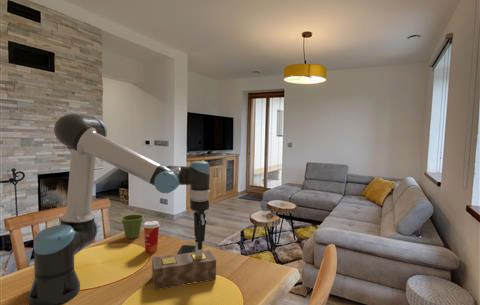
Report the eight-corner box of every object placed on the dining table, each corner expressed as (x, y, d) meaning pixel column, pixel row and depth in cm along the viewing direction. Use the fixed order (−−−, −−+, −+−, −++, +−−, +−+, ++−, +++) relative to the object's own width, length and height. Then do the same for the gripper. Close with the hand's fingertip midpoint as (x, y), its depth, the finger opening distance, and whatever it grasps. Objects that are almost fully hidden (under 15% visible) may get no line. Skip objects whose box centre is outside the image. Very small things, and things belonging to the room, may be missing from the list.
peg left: (162, 281, 104) (163, 264, 104) (161, 275, 109) (161, 258, 108) (176, 279, 106) (176, 262, 106) (174, 273, 111) (174, 256, 110)
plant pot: (147, 234, 156) (147, 215, 155) (134, 242, 144) (134, 221, 144) (130, 231, 159) (130, 213, 158) (116, 239, 148) (116, 219, 147)
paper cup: (142, 248, 136) (142, 221, 136) (158, 246, 140) (158, 219, 139) (143, 255, 129) (144, 226, 129) (160, 252, 133) (160, 224, 132)
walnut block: (153, 289, 101) (153, 269, 100) (152, 276, 110) (152, 257, 110) (215, 279, 109) (216, 260, 109) (209, 267, 119) (209, 250, 118)
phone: (197, 245, 140) (191, 258, 125) (197, 247, 140) (191, 261, 125) (182, 245, 140) (174, 258, 125) (181, 247, 140) (174, 260, 126)
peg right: (193, 276, 109) (194, 259, 108) (191, 270, 113) (191, 254, 113) (205, 274, 110) (206, 258, 110) (203, 269, 115) (203, 253, 115)
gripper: (213, 202, 105) (211, 261, 107) (205, 195, 117) (204, 248, 119) (194, 203, 102) (193, 264, 104) (187, 196, 115) (187, 250, 116)
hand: (199, 255), depth 111 cm, fingers closed
